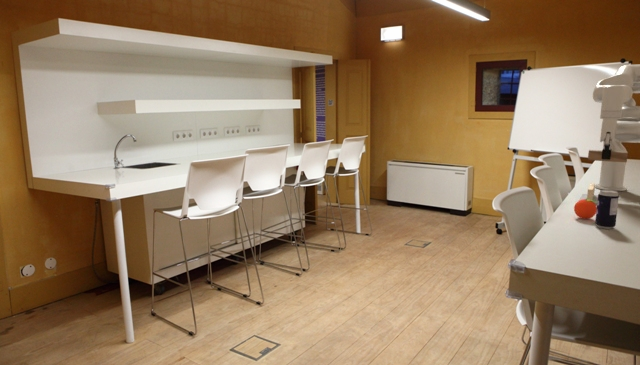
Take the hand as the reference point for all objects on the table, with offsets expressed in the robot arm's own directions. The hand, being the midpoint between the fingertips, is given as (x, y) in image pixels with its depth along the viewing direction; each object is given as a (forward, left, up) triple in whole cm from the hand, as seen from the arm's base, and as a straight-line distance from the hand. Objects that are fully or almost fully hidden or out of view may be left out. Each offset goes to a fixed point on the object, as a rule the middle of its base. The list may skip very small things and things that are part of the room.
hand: (606, 158), depth 196 cm
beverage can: (+57, +3, -17) cm, 60 cm away
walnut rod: (0, 0, -1) cm, 1 cm away
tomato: (+48, -3, -17) cm, 51 cm away
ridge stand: (+13, -4, -17) cm, 22 cm away
